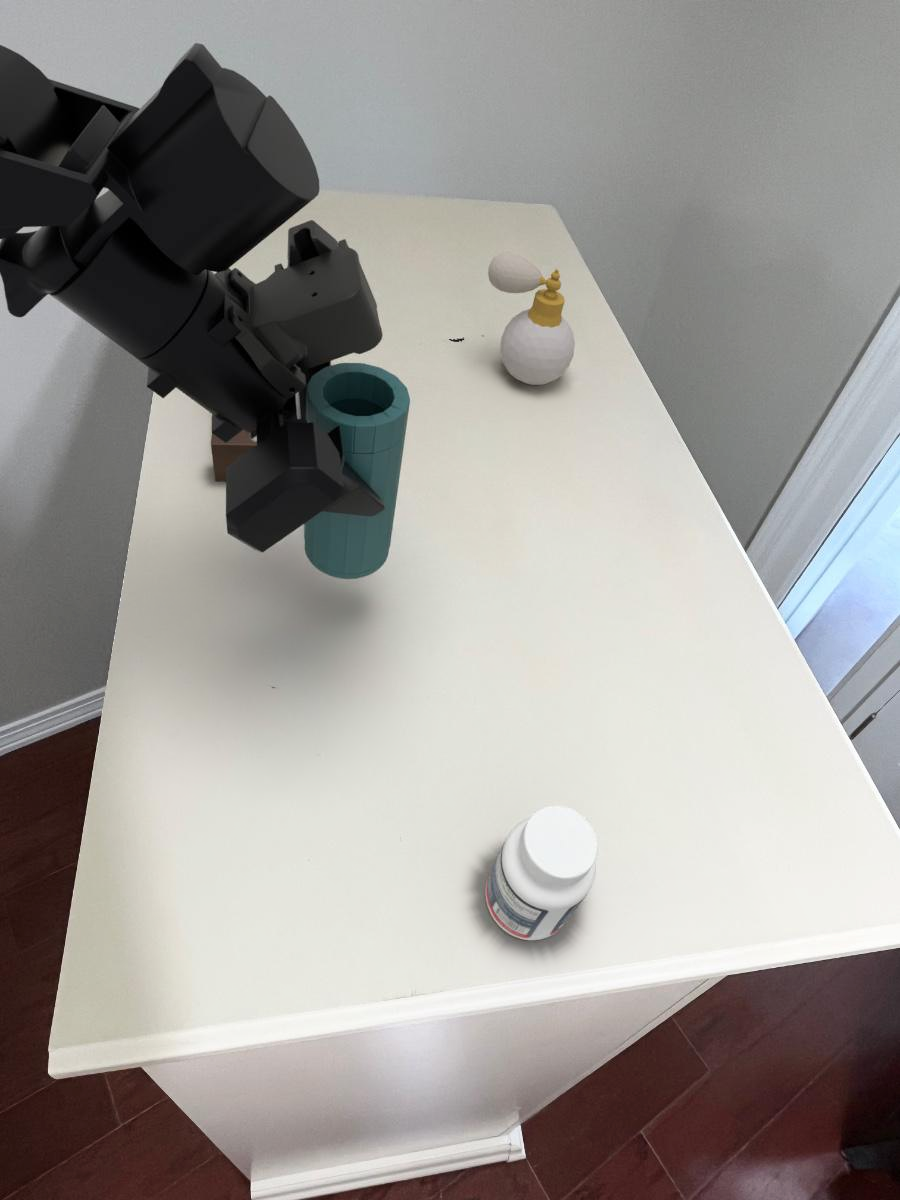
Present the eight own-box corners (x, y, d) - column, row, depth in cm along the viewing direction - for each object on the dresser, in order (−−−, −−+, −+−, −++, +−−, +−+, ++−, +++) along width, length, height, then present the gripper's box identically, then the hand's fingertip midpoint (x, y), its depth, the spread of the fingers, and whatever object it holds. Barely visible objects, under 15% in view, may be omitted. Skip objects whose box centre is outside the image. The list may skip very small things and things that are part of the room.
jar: (308, 581, 52) (311, 426, 42) (301, 518, 56) (302, 361, 46) (394, 577, 54) (417, 425, 44) (382, 516, 57) (400, 362, 47)
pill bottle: (556, 850, 50) (596, 788, 43) (578, 935, 47) (625, 883, 40) (476, 860, 49) (503, 798, 42) (493, 948, 46) (525, 896, 39)
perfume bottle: (573, 398, 81) (607, 290, 72) (481, 397, 79) (504, 285, 70) (555, 355, 86) (584, 248, 77) (467, 353, 84) (487, 242, 74)
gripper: (296, 320, 30) (510, 517, 41) (278, 120, 42) (450, 317, 53) (113, 472, 35) (351, 615, 46) (142, 254, 46) (327, 410, 57)
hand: (373, 476), depth 50 cm, fingers closed on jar, 6 cm apart
